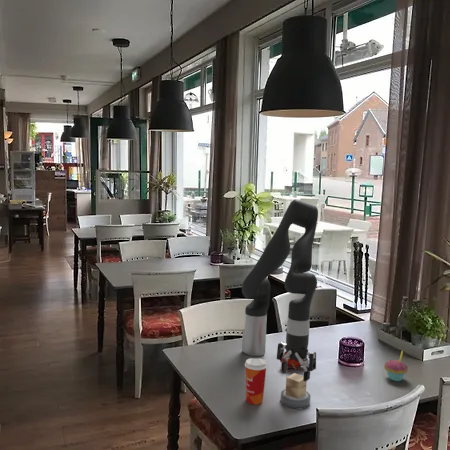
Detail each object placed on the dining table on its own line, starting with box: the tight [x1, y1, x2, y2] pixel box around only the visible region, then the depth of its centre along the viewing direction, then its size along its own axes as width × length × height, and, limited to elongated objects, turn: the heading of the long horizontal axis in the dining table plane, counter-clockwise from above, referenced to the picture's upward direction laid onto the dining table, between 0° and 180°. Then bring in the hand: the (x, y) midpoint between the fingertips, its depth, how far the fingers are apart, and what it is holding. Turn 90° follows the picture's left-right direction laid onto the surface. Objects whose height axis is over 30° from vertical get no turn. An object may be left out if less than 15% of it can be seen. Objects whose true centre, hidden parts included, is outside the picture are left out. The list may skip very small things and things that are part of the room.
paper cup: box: [244, 357, 268, 406], centre depth 167 cm, size 8×8×14 cm
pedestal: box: [280, 388, 311, 409], centre depth 168 cm, size 10×10×3 cm
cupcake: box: [383, 349, 409, 382], centre depth 189 cm, size 9×8×12 cm
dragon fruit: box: [279, 350, 308, 371], centre depth 197 cm, size 8×8×12 cm
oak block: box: [285, 372, 308, 399], centre depth 168 cm, size 5×5×6 cm
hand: (294, 376), depth 167 cm, fingers open, 8 cm apart
